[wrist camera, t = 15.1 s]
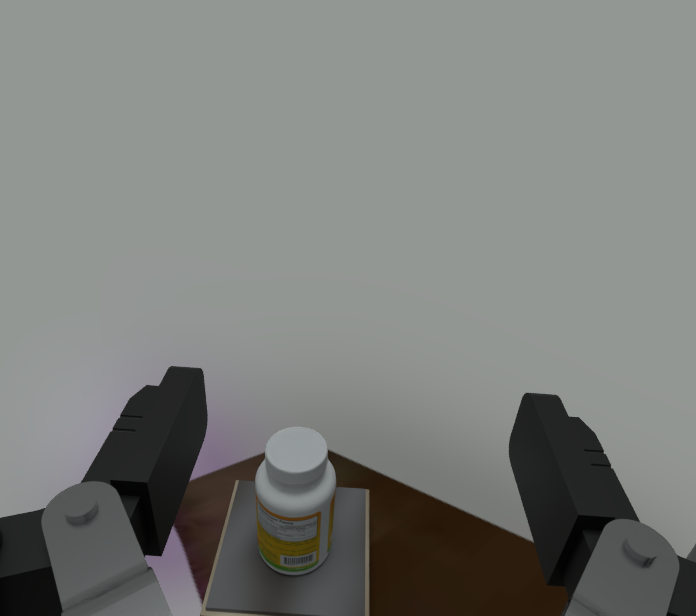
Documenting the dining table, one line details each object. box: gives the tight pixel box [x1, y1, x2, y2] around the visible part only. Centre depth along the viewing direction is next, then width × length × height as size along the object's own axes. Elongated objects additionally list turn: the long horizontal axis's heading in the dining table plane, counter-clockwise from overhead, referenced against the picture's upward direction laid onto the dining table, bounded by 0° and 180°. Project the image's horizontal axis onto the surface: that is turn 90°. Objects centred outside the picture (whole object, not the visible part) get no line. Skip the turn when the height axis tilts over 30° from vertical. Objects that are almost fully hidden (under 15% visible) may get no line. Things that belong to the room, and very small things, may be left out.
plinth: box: [200, 480, 369, 616], centre depth 40 cm, size 11×11×4 cm
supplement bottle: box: [255, 427, 336, 575], centre depth 36 cm, size 5×5×10 cm
